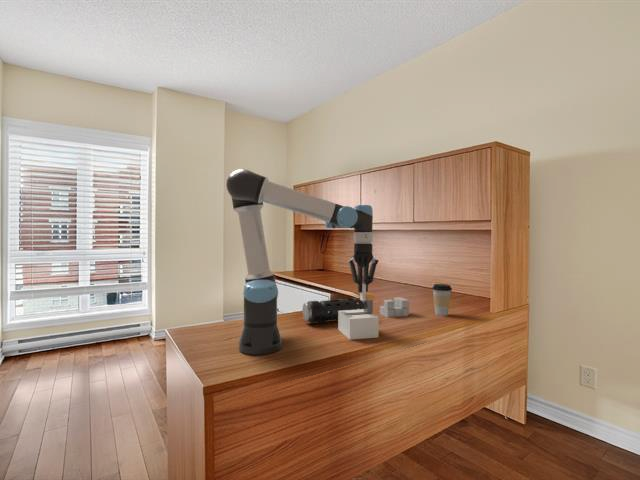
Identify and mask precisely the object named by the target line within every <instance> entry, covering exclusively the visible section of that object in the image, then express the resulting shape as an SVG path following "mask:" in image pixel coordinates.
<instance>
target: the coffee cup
mask: <svg viewBox="0 0 640 480" xmlns="http://www.w3.org/2000/svg"><path fill="white" fill-rule="evenodd" d="M432 291H433V293H432V296H433V305H434V313H435V315H436V316H438V315H439V316H440V317H447V316H449V308H450V301H451V291H453V288H452V286H451V285H449V284H445V283H444V284H443V283H436V284H433V286H432Z"/></svg>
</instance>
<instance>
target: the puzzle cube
mask: <svg viewBox="0 0 640 480" xmlns="http://www.w3.org/2000/svg"><path fill="white" fill-rule="evenodd" d="M379 314H380V315H382V316H384V317H386V318H397V317H407V316H408V315H409V316H410V300H409V299H407V298H403V297H402V296H399V297H394V299H393V300H392V299H384V300H383V305H380V306H379Z"/></svg>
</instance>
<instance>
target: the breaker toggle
mask: <svg viewBox="0 0 640 480" xmlns="http://www.w3.org/2000/svg"><path fill="white" fill-rule="evenodd" d="M375 297H376V295H375V294H374V293H372V292H369V291H368V292H366V301H363V311H364V312H366V313H373V314H374V312H373V311H374V310H373V307H374V301H375V300H376V299H375Z"/></svg>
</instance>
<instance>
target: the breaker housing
mask: <svg viewBox="0 0 640 480" xmlns="http://www.w3.org/2000/svg"><path fill="white" fill-rule="evenodd" d="M379 321H380V319H379V316H377V314H375V313H374V312H373V313H366V312H364V311H363V309H360V308H359V309H357V310H342V311H338V321H337V322H338V324H337V326H338V327H337V328H338V331H340V332H341V333H342V334H343V335H344V336H345V338H347V339H348V340H361V339H362V340H363V339H364V340H365V339H373V338H374V339H375V338H379V331H380V330H379Z"/></svg>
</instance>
